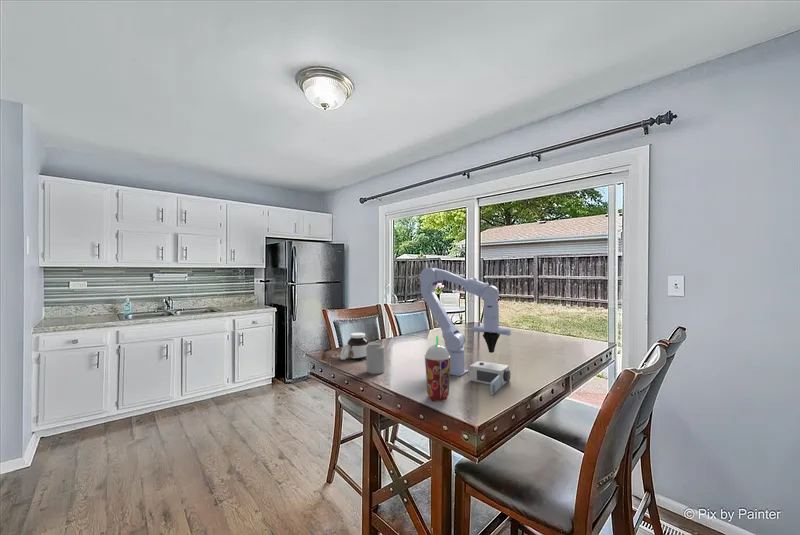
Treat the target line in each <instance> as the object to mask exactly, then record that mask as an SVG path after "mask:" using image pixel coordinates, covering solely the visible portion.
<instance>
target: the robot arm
mask: <svg viewBox="0 0 800 535" xmlns="http://www.w3.org/2000/svg"><path fill="white" fill-rule="evenodd" d="M418 280H419V281H420V283H419V284H420V294H421V296H422V298H423V299H424V301H425V303H426V305H427V307H428V309H429V311H431V313H432V315H433V317H434V319H435V321H436V323H437V324H438V326H439V328H440V330H441V332H442V338H443V340H444V347H445V348H446V349H447V351H448V353H449V355H450V356H451V357H450V375H452V376H457V377H461V376H464V375H465V374H466V373H468V372H470V369H467V368H465V367H466V366H465V365H466V364H465V363H466V362H465V359H466V358H465V357H466V356H465V355H466V354H465V348H464V345H465V344H466V336H465V334H464V333H462V332H461V331H460V330H459V328H458V327H456V325H454V324H453V321H452V320H451V318H450V317H449V314H448V313H447V311H446V309H445V308H444V306H443V304H442V302H441V301H440V299H439V297H438V296H437V294H436V292H435V290H436V288H437V285H438V284H439V282H440V281H447V282H450V283H452V284H455V285H457V286H460V287H463V288H464V290H465V292H467V293H470V294H473V295H474V296H477V297H479V298H481V297H482V299H483V307H482V308H483V312H482V313H483V326H478V325H477V326H476V325H475V326H474V325H473V326H472V333H483V334H482V337H483V339H484V341H485V343H486V346H487V350H488V353H490V354H491V353H494V352H495V350H496V349H495V348H496V346H497V342H498V339H499V337H500V336H501V335H505V336H507V337H508V336H511V334H512V333H511V331H512V330H511V329H509V328H508V329H507V328H500V318H499V316H500V313H499V312H500V310H499V308H500V306H499V299H498V298H499V296H500V291H499V288H497V287H496V286H495V285H494V284H490V285H489V283H488V282H482V281H480V280H478V278H477V277H473V278H472V277H469V278H467V279H466V278H464V277H462V276H459V275H457V274H454V273H453V272H450V271H448V270H445V269H441V268H438V267H425V268H423V269H422V270H421V272H420V275H419V277H418Z"/></svg>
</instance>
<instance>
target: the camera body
mask: <svg viewBox="0 0 800 535" xmlns="http://www.w3.org/2000/svg"><path fill="white" fill-rule="evenodd" d="M499 374H500V375H501V379H502V386H501V387H500V388H502V387H503V386H504V385H505V384H507V383H508V382H510V380H511V371H510V365H507V364H500V363H496V362H495V363H494V362H488V361H482V360H481V361H480V360H477V361H476V362H474V363H472V364H470V365H469V381H470V382H471V381H472V382H476V383H482V384H486V385H490V383H491V382H492V381H493V380H494V379H495V378H496V377H497V376H498V375H499Z"/></svg>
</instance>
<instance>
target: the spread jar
mask: <svg viewBox="0 0 800 535" xmlns="http://www.w3.org/2000/svg"><path fill="white" fill-rule="evenodd" d="M368 343H369V341H368V339H367V338H366V333H364V332H352V333H350V338H349V339H348V341H347V344H344V345H343V346H342V348H341V351H340V360H343V361H345V360H346V359H347V358H349V359H350V360H352V361H356V360H358V361H364V360H366V347H367V346H368Z"/></svg>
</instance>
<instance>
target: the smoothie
mask: <svg viewBox="0 0 800 535" xmlns="http://www.w3.org/2000/svg"><path fill="white" fill-rule="evenodd" d="M435 341H436V342H435V344H434V345H431V346H430V347H428V348H427V350H426V353H425V355H424V364H425V378H426V390H427V396H428V397H429V400H430V401H434V402H444V401H446V400H448V399H447V398H448V396H449V392H450V376H451V374H450V357H451V356H450V355H449V353H448V351H447V349H446V346H445V345H441V344H439V335H438V336H436V338H435Z"/></svg>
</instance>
